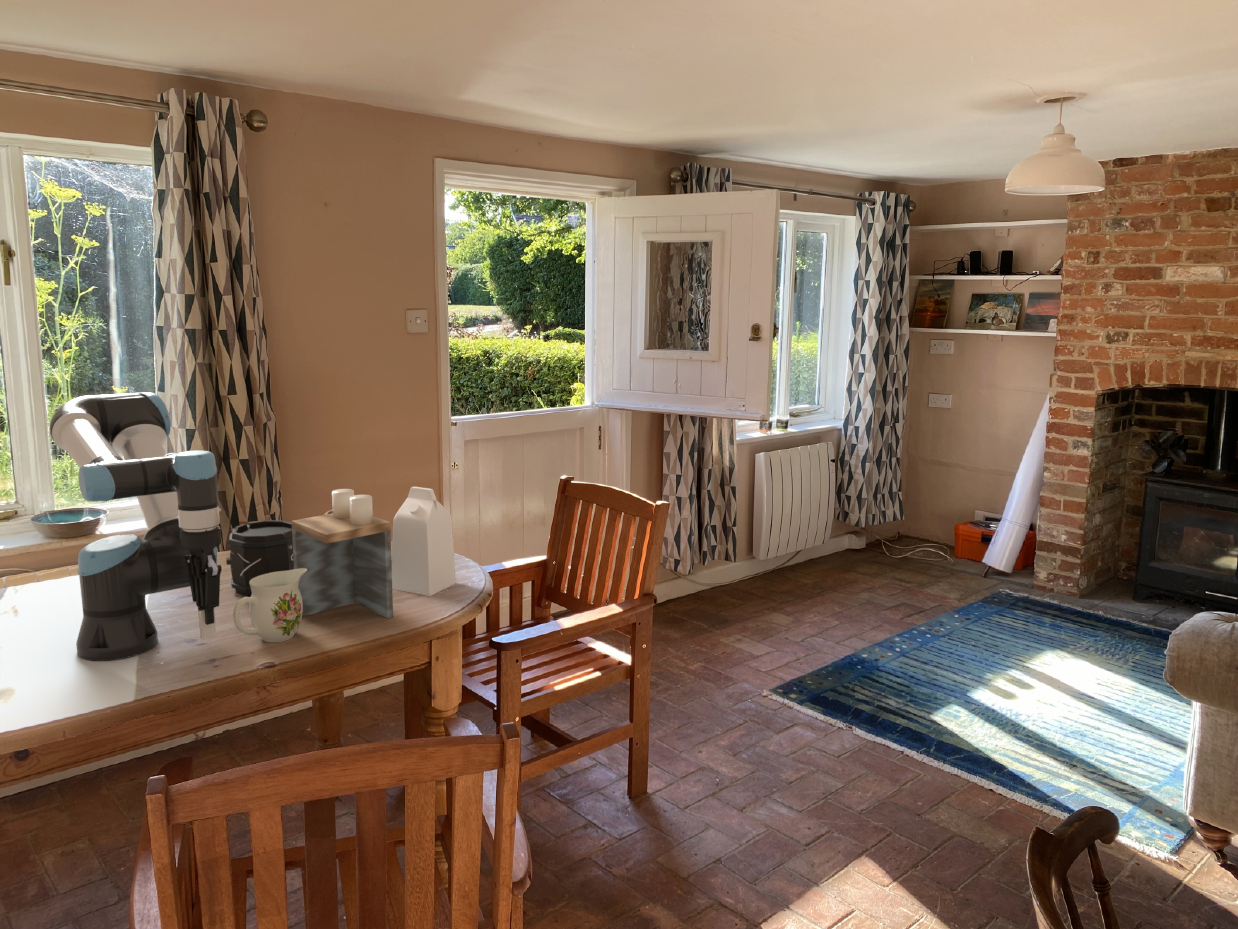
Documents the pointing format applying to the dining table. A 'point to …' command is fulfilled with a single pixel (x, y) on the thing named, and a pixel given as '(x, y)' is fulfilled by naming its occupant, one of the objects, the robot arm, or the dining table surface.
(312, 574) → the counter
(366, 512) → the white ceramic cup
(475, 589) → the dining table surface
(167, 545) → the robot arm
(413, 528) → the milk
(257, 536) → the black octagonal canister
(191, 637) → the dining table surface
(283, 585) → the pitcher
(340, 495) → the white ceramic cylinder
